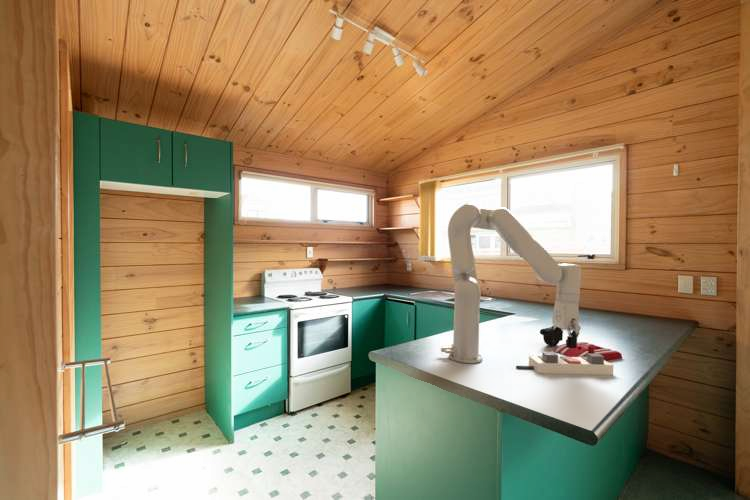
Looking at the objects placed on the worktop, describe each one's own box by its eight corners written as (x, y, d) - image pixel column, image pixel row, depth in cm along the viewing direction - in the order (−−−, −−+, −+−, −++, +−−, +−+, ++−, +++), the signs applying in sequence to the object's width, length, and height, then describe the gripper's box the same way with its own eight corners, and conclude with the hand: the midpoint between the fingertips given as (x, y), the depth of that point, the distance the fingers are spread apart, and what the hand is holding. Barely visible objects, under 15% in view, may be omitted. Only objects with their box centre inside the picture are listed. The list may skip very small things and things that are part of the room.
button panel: (520, 372, 125) (521, 361, 125) (512, 364, 133) (512, 354, 133) (613, 375, 124) (613, 364, 124) (599, 367, 132) (599, 356, 132)
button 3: (592, 365, 125) (592, 356, 125) (586, 362, 128) (587, 353, 128) (603, 365, 125) (604, 356, 125) (598, 362, 128) (598, 353, 128)
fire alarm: (552, 339, 151) (586, 335, 159) (552, 352, 151) (585, 348, 159) (588, 349, 136) (623, 345, 144) (587, 365, 136) (622, 359, 144)
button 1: (546, 364, 125) (546, 355, 125) (542, 361, 129) (542, 352, 128) (557, 364, 125) (558, 355, 125) (553, 361, 128) (553, 352, 128)
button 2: (569, 370, 125) (569, 361, 125) (564, 366, 128) (564, 358, 128) (580, 370, 125) (580, 361, 125) (575, 367, 128) (575, 358, 128)
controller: (563, 345, 161) (564, 323, 161) (547, 349, 154) (547, 326, 154) (554, 343, 165) (554, 321, 164) (537, 346, 158) (538, 324, 158)
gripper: (546, 293, 140) (543, 337, 140) (569, 301, 122) (566, 350, 123) (565, 294, 139) (562, 338, 140) (591, 302, 122) (588, 351, 123)
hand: (564, 343), depth 131 cm, fingers open, 9 cm apart
